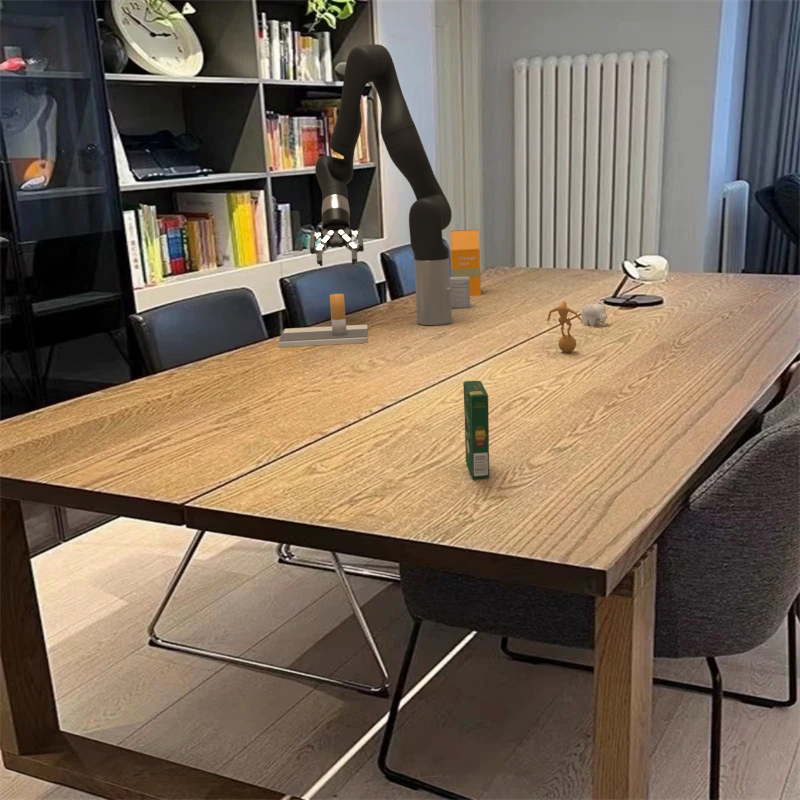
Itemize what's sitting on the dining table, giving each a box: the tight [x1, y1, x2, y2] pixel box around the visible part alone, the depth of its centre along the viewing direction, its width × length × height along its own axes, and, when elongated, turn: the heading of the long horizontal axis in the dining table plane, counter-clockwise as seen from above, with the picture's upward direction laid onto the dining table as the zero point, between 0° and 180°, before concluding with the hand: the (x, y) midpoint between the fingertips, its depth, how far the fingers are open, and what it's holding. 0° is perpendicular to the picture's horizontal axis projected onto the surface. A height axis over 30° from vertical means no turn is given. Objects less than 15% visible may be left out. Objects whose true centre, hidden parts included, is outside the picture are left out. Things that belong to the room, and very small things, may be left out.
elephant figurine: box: [580, 300, 609, 327], centre depth 246 cm, size 7×8×6 cm
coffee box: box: [463, 380, 490, 480], centre depth 143 cm, size 8×3×13 cm, turn 3°
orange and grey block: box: [329, 293, 347, 335], centre depth 243 cm, size 4×4×10 cm
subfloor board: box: [278, 324, 369, 348], centre depth 248 cm, size 22×18×1 cm
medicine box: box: [450, 276, 471, 309], centre depth 281 cm, size 8×4×9 cm, turn 84°
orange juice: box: [450, 229, 482, 297], centre depth 302 cm, size 8×9×20 cm
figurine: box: [547, 301, 584, 353], centre depth 216 cm, size 8×6×12 cm
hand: (337, 263), depth 253 cm, fingers open, 8 cm apart
